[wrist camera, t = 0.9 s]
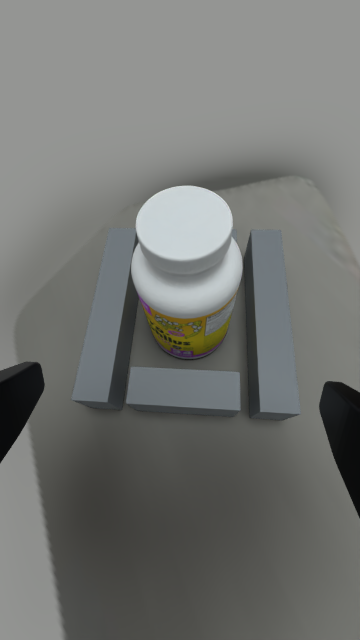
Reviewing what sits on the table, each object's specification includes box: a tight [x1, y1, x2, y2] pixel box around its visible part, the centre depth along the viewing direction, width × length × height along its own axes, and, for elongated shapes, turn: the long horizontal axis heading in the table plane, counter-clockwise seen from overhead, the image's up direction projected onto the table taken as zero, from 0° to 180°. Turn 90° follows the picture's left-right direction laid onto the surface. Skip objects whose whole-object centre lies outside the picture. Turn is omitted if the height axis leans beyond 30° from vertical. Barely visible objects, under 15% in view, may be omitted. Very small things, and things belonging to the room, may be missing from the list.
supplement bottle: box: [131, 186, 243, 359], centre depth 19 cm, size 7×7×13 cm
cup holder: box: [71, 228, 301, 420], centre depth 23 cm, size 15×15×4 cm
